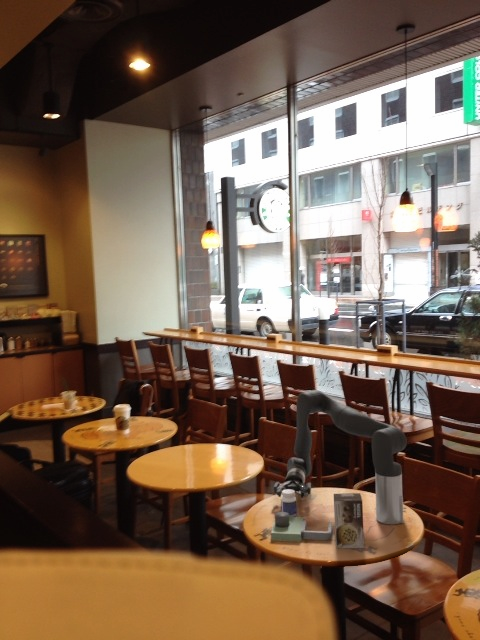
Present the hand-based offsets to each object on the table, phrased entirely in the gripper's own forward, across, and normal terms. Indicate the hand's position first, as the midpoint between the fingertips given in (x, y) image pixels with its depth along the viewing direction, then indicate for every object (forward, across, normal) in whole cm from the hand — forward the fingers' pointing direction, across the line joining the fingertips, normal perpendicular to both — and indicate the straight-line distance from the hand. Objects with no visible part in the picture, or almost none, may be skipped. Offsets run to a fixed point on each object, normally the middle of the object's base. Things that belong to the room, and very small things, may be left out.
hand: (290, 494), depth 220 cm
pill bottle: (+6, 0, +7) cm, 9 cm away
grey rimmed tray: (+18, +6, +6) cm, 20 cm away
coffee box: (+24, +22, +7) cm, 34 cm away
